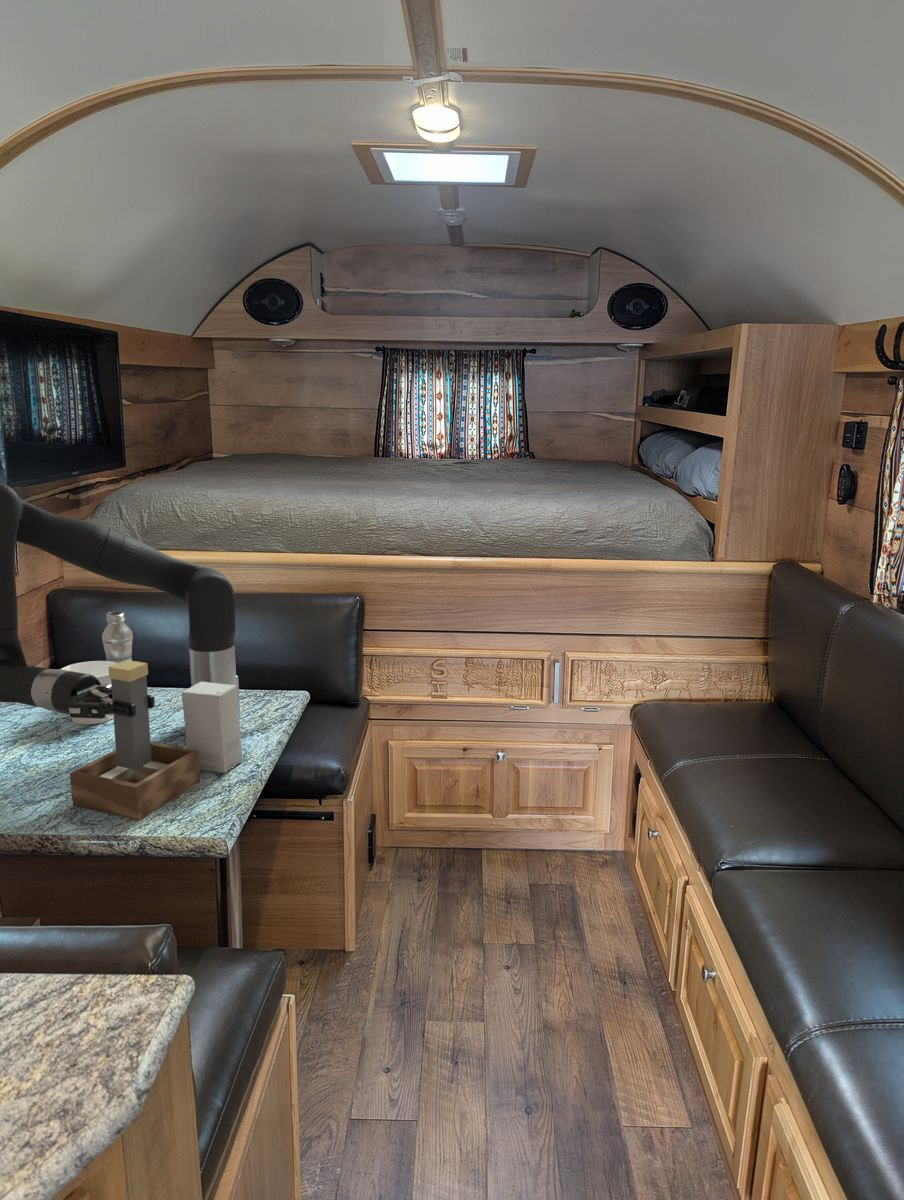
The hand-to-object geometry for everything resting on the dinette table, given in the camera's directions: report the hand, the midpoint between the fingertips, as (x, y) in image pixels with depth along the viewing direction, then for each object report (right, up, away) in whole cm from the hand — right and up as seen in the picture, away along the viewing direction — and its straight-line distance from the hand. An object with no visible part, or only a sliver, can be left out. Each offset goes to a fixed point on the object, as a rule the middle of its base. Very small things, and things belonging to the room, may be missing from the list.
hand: (143, 706), depth 143 cm
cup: (-25, -8, +39) cm, 48 cm away
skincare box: (+7, -14, +17) cm, 23 cm away
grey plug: (-3, -10, +3) cm, 11 cm away
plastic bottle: (-24, -5, +53) cm, 58 cm away
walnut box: (-3, -16, +5) cm, 17 cm away
